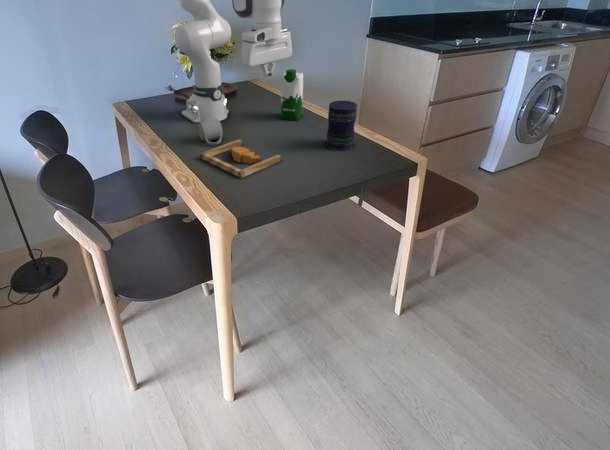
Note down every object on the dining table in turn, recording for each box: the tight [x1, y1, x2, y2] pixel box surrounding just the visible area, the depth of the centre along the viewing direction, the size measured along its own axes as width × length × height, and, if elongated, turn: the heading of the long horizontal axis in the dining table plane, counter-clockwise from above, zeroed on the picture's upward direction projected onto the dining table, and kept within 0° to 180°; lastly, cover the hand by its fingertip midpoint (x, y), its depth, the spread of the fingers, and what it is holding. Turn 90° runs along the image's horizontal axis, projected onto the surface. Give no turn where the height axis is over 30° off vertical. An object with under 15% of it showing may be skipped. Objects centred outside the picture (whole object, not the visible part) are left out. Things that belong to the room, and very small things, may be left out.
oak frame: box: [200, 138, 282, 179], centre depth 145 cm, size 22×18×2 cm
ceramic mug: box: [197, 119, 224, 146], centre depth 158 cm, size 11×8×8 cm
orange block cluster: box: [230, 145, 261, 165], centre depth 145 cm, size 14×6×4 cm, turn 42°
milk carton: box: [280, 69, 304, 121], centre depth 174 cm, size 9×9×20 cm
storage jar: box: [326, 100, 358, 151], centre depth 149 cm, size 10×10×15 cm
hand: (267, 75), depth 141 cm, fingers closed
